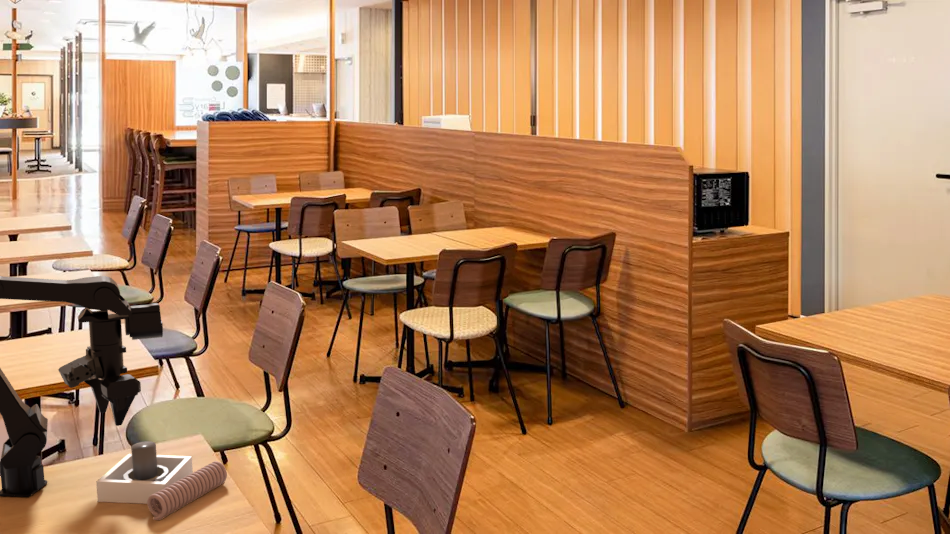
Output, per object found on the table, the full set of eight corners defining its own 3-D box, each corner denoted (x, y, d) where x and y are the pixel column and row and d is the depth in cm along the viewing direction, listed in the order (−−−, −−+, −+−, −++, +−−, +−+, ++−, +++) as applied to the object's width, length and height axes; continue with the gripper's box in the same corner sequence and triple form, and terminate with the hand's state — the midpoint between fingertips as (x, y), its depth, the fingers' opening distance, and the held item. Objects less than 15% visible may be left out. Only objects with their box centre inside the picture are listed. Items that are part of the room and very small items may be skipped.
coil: (163, 500, 150) (231, 463, 166) (143, 493, 152) (212, 456, 168) (163, 524, 151) (229, 485, 167) (142, 516, 153) (211, 478, 169)
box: (97, 501, 158) (96, 481, 157) (129, 472, 171) (128, 453, 170) (165, 504, 157) (164, 484, 157) (192, 475, 170) (191, 456, 169)
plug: (130, 489, 162) (126, 449, 161) (140, 479, 166) (137, 441, 165) (152, 490, 162) (149, 450, 160) (162, 480, 166) (159, 441, 165)
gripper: (47, 338, 166) (53, 414, 169) (77, 360, 152) (82, 442, 155) (106, 329, 173) (110, 403, 176) (139, 349, 160) (143, 428, 162)
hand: (110, 418), depth 167 cm, fingers open, 9 cm apart
